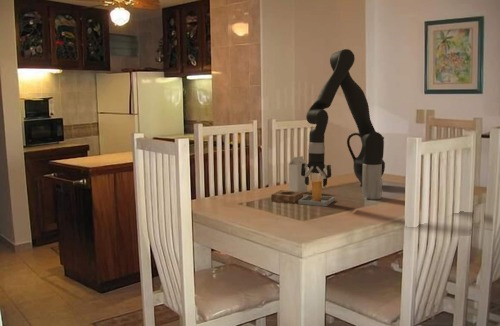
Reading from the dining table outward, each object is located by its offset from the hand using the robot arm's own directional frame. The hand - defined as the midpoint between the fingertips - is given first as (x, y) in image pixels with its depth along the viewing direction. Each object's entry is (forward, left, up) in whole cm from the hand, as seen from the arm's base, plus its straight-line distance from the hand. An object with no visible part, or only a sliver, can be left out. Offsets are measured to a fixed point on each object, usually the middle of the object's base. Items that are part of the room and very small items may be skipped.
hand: (315, 185), depth 240 cm
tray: (-1, 0, -9) cm, 9 cm away
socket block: (+14, 0, -9) cm, 17 cm away
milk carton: (+17, -23, -9) cm, 30 cm away
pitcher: (-12, -53, -9) cm, 55 cm away
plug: (-1, 0, -8) cm, 8 cm away
